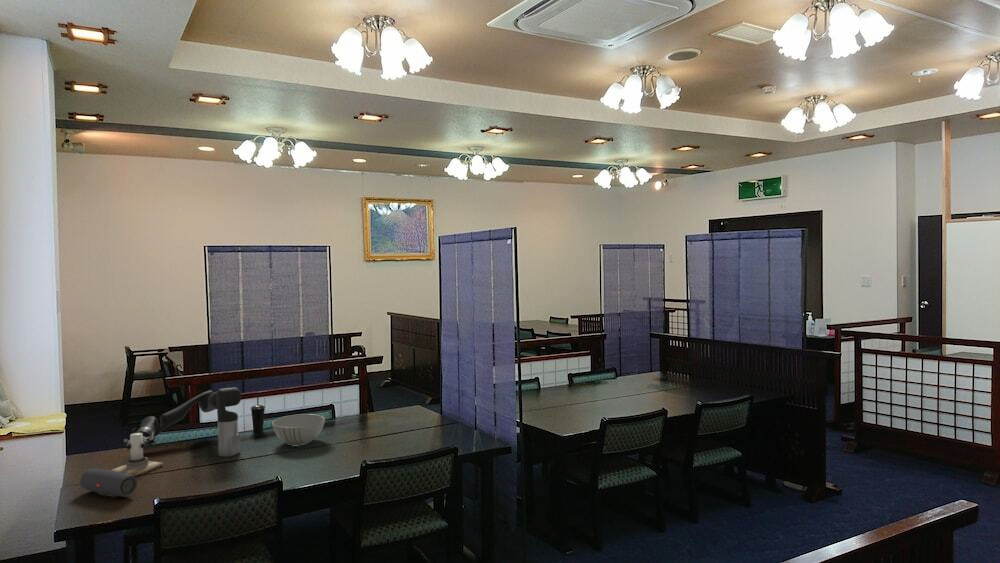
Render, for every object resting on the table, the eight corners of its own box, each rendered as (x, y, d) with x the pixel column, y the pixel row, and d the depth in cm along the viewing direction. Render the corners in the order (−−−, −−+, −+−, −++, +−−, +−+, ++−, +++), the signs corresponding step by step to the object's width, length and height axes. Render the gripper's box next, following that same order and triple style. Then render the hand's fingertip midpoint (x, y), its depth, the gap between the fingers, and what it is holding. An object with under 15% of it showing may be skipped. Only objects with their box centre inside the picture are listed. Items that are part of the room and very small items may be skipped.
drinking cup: (268, 429, 354) (267, 395, 353) (259, 433, 347) (258, 398, 346) (257, 428, 356) (256, 394, 355) (247, 432, 349) (247, 397, 348)
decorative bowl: (284, 454, 311) (284, 430, 310) (264, 442, 331) (264, 419, 331) (334, 443, 329) (333, 421, 328) (312, 432, 349) (311, 411, 348)
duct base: (163, 465, 294) (163, 456, 294) (136, 476, 280) (136, 466, 279) (138, 462, 298) (138, 453, 298) (110, 473, 284) (110, 463, 284)
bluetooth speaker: (79, 495, 259) (78, 471, 258) (100, 487, 267) (99, 464, 267) (118, 503, 251) (117, 478, 250) (138, 494, 259) (138, 471, 259)
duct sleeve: (146, 458, 291) (145, 433, 290) (136, 462, 286) (135, 436, 285) (137, 457, 292) (136, 432, 292) (127, 461, 287) (127, 435, 287)
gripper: (160, 442, 305) (152, 453, 288) (127, 445, 300) (117, 456, 284) (160, 427, 304) (152, 437, 288) (126, 429, 300) (117, 440, 284)
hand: (135, 446), depth 286 cm, fingers closed on duct sleeve, 5 cm apart
